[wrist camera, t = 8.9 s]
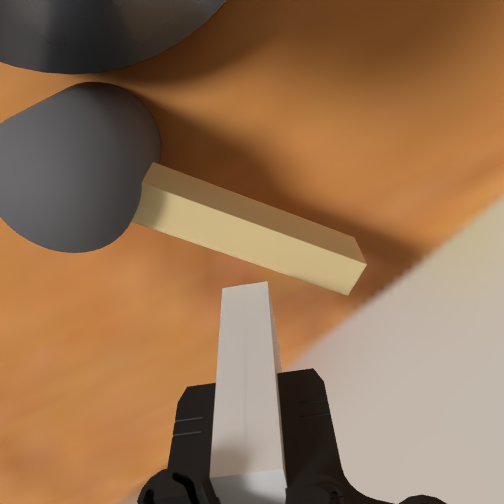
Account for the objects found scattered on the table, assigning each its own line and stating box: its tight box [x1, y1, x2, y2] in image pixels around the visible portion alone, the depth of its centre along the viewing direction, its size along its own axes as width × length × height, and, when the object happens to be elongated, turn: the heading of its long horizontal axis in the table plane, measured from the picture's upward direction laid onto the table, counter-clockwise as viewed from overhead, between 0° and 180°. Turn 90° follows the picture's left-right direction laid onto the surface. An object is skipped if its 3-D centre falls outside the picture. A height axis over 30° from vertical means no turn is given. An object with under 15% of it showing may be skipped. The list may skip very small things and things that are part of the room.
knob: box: [0, 82, 367, 296], centre depth 16 cm, size 12×4×4 cm, turn 68°
